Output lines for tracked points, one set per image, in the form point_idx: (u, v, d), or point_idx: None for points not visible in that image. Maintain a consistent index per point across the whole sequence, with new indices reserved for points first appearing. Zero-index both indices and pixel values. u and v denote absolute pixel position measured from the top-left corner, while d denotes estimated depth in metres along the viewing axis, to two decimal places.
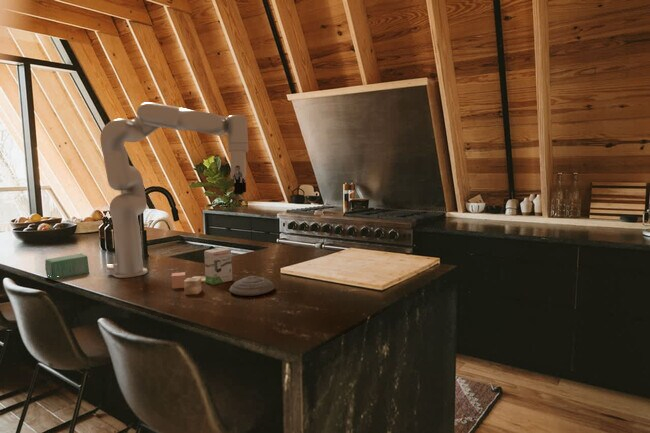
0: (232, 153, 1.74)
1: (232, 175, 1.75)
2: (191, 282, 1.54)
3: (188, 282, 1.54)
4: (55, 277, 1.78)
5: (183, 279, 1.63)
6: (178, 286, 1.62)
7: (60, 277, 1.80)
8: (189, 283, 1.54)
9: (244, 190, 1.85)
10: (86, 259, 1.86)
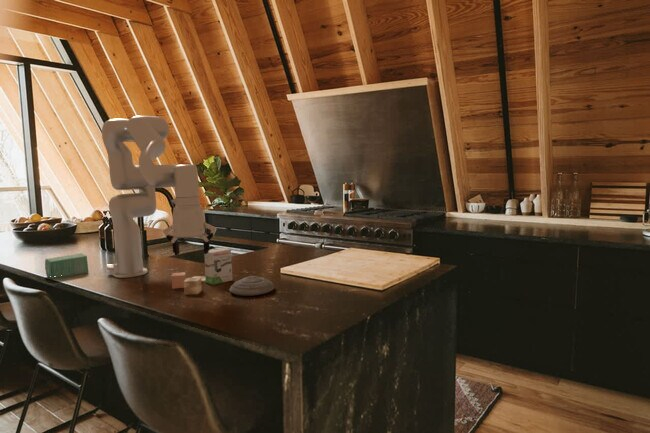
0: (200, 208, 1.52)
1: (203, 233, 1.52)
2: (191, 282, 1.54)
3: (188, 282, 1.54)
4: None
5: (183, 279, 1.63)
6: (178, 286, 1.62)
7: (59, 277, 1.80)
8: (189, 283, 1.54)
9: None
10: (85, 259, 1.87)
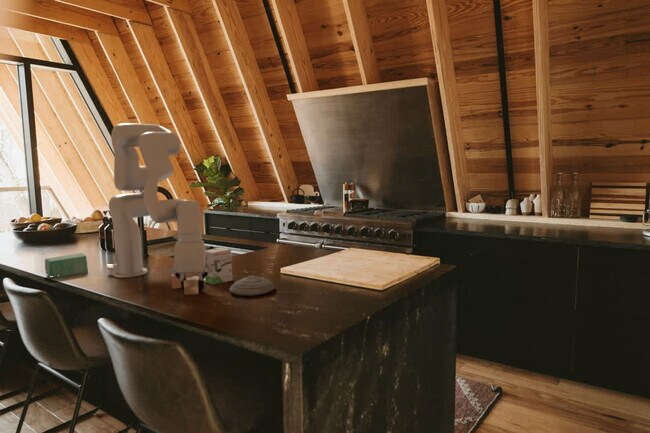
0: (201, 244, 1.53)
1: (204, 268, 1.54)
2: (191, 282, 1.54)
3: (188, 282, 1.54)
4: (53, 276, 1.79)
5: None
6: (178, 286, 1.62)
7: (58, 276, 1.81)
8: (189, 283, 1.54)
9: None
10: (85, 259, 1.87)
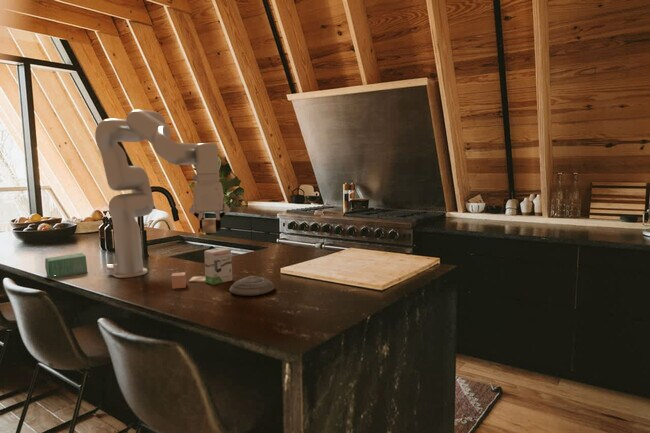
0: (219, 184, 1.61)
1: (222, 208, 1.61)
2: (209, 221, 1.62)
3: (206, 221, 1.62)
4: (52, 275, 1.80)
5: (183, 279, 1.63)
6: (178, 286, 1.62)
7: (57, 276, 1.81)
8: (207, 222, 1.62)
9: None
10: (84, 259, 1.87)
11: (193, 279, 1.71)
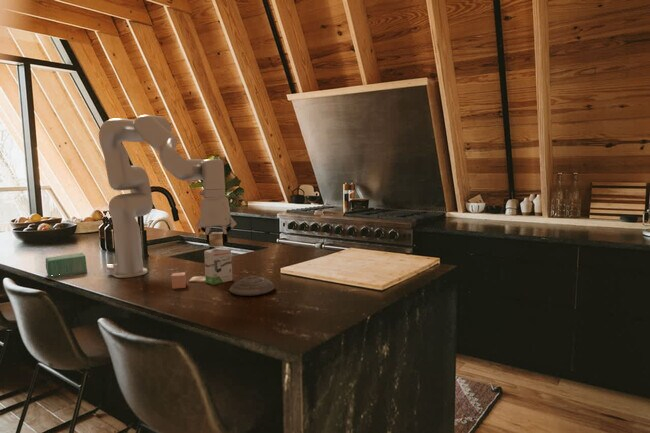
0: (226, 199, 1.64)
1: (228, 222, 1.65)
2: (216, 235, 1.65)
3: (213, 235, 1.65)
4: None
5: (183, 279, 1.63)
6: (178, 286, 1.62)
7: (57, 276, 1.82)
8: (214, 236, 1.65)
9: None
10: (84, 259, 1.87)
11: (193, 279, 1.71)
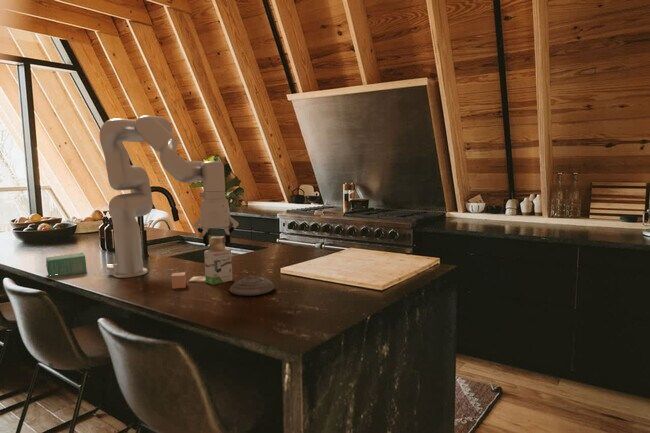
0: (226, 201, 1.65)
1: (228, 224, 1.65)
2: (216, 239, 1.66)
3: (213, 239, 1.66)
4: (51, 275, 1.81)
5: (183, 279, 1.63)
6: (178, 286, 1.62)
7: (56, 276, 1.82)
8: (214, 240, 1.66)
9: (208, 243, 1.69)
10: (84, 259, 1.87)
11: (193, 279, 1.71)
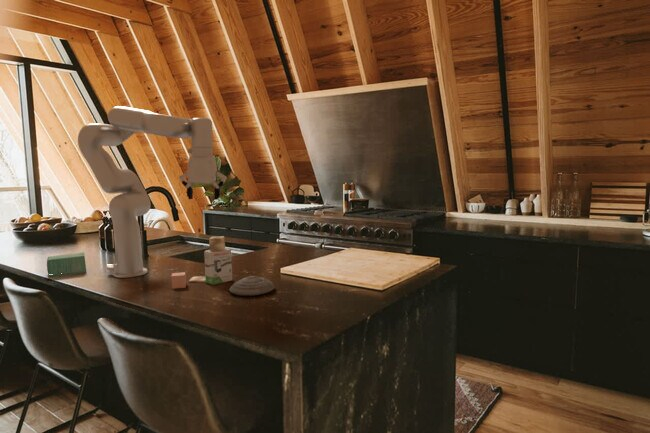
0: (213, 158, 1.70)
1: (215, 180, 1.70)
2: (216, 239, 1.66)
3: (213, 239, 1.66)
4: None
5: (183, 279, 1.63)
6: (178, 286, 1.62)
7: (56, 275, 1.83)
8: (214, 240, 1.66)
9: (192, 196, 1.74)
10: (83, 259, 1.87)
11: (193, 279, 1.71)
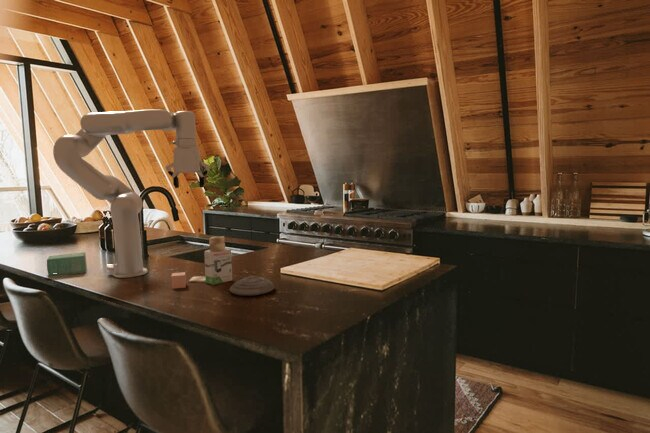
0: (196, 148, 1.81)
1: (199, 169, 1.82)
2: (216, 239, 1.66)
3: (213, 239, 1.66)
4: (50, 274, 1.83)
5: (183, 279, 1.63)
6: (178, 286, 1.62)
7: (56, 274, 1.84)
8: (214, 240, 1.66)
9: (178, 186, 1.85)
10: (83, 259, 1.87)
11: (193, 279, 1.71)
